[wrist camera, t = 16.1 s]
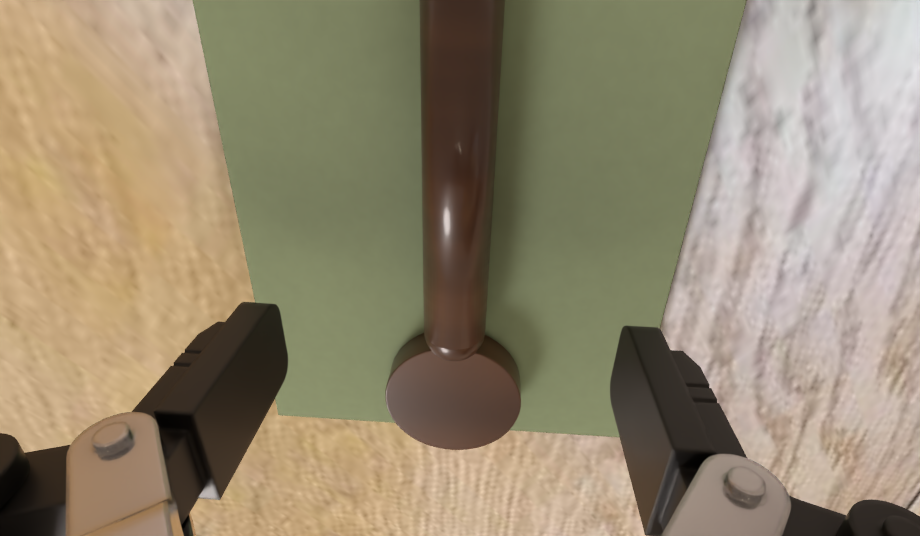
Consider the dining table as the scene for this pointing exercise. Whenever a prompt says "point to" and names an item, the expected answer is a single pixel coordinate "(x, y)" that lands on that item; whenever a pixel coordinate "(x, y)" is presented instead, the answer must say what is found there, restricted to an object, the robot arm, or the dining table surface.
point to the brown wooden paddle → (457, 238)
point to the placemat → (515, 184)
